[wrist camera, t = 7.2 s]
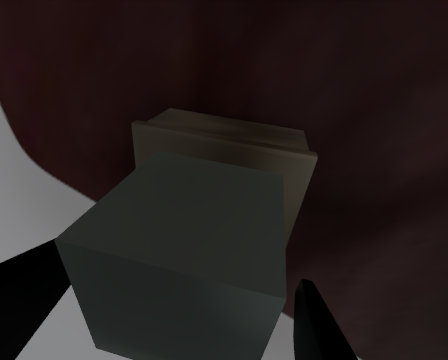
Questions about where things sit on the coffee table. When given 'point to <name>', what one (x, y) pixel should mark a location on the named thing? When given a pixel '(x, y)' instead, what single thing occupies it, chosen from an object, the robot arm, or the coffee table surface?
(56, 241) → the sage block
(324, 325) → the robot arm
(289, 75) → the coffee table surface
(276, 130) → the oak box
